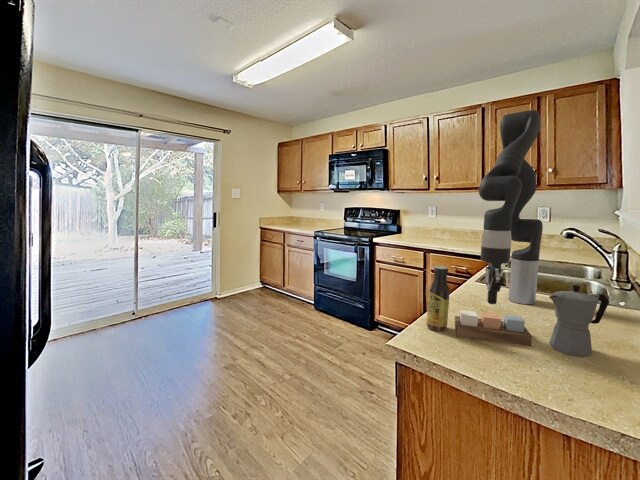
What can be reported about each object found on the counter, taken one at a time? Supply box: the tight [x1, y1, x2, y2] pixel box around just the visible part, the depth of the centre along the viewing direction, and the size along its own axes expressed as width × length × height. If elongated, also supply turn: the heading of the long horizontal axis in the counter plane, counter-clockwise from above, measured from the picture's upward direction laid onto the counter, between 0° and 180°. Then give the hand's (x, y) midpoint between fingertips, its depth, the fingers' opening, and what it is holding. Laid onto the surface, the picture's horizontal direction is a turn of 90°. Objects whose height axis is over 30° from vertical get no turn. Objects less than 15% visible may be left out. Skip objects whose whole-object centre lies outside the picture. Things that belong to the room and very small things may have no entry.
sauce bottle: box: [426, 265, 451, 332], centre depth 99 cm, size 7×6×20 cm
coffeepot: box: [548, 284, 610, 358], centre depth 85 cm, size 15×9×18 cm, turn 89°
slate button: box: [502, 314, 525, 332], centre depth 93 cm, size 4×4×4 cm
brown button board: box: [453, 315, 533, 348], centre depth 95 cm, size 10×19×3 cm, turn 71°
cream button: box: [459, 309, 479, 327], centre depth 97 cm, size 4×4×4 cm
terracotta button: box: [480, 312, 502, 329], centre depth 95 cm, size 4×4×4 cm
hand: (491, 303), depth 94 cm, fingers closed
